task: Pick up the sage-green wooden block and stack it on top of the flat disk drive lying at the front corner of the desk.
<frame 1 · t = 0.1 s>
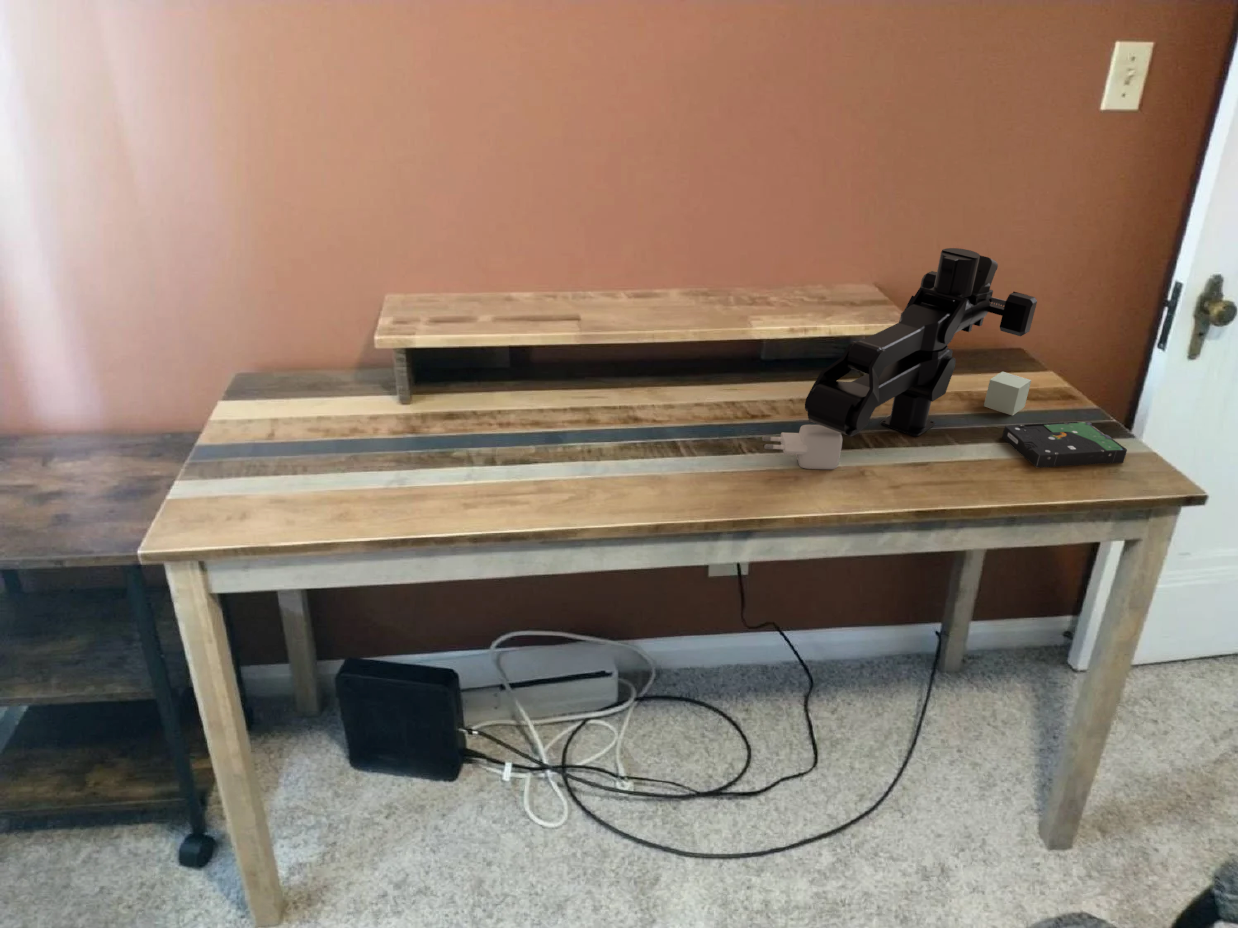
hand: (996, 292, 165), 17 cm above the table, tool horizontal, fingers open, 9 cm apart
power adapter: (798, 465, 143), on the table
disk drive: (1060, 453, 151), on the table
sage block: (1003, 407, 164), on the table
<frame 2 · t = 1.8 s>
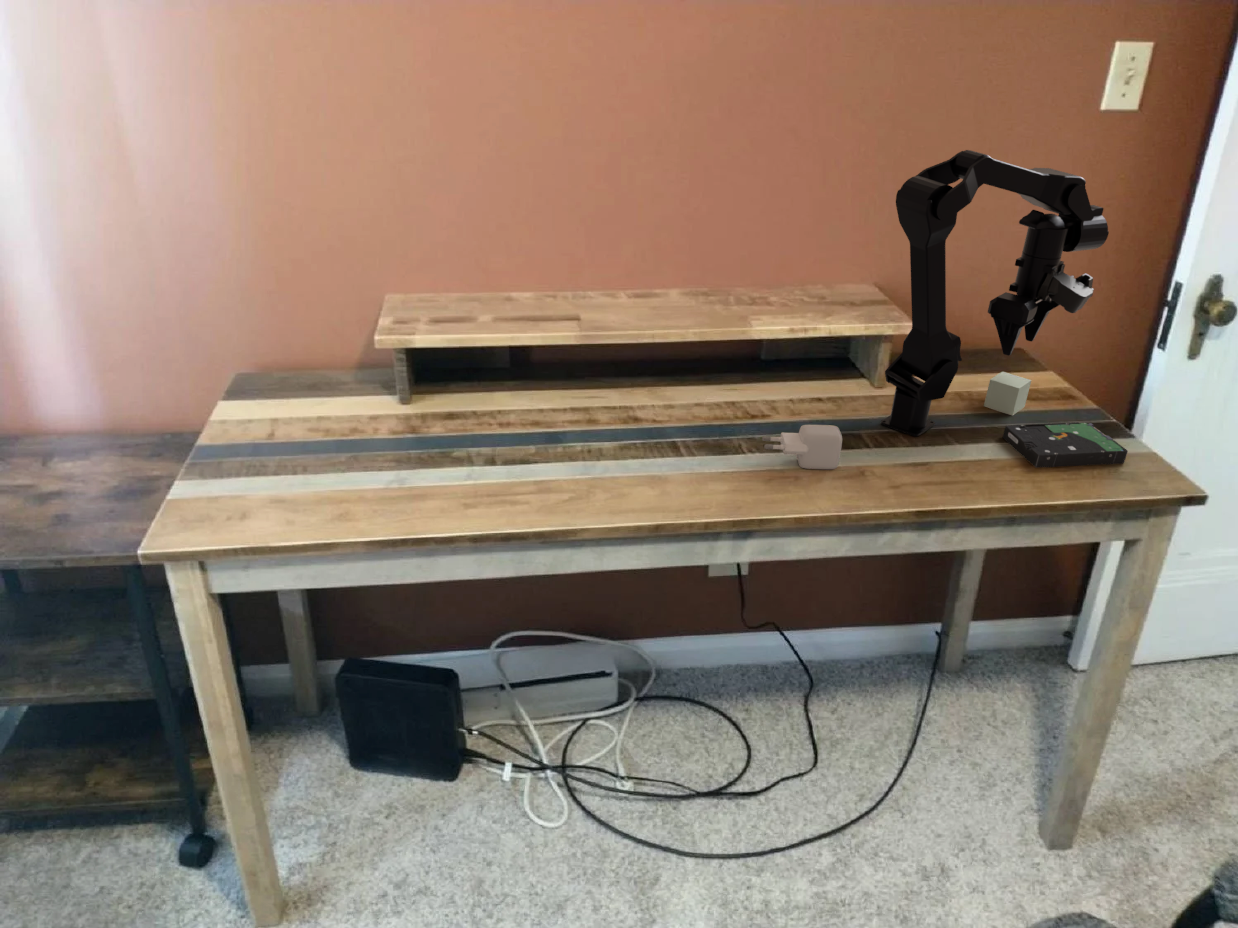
hand: (1018, 347, 159), 11 cm above the table, tool pointing down, fingers open, 9 cm apart
nothing on the table moved.
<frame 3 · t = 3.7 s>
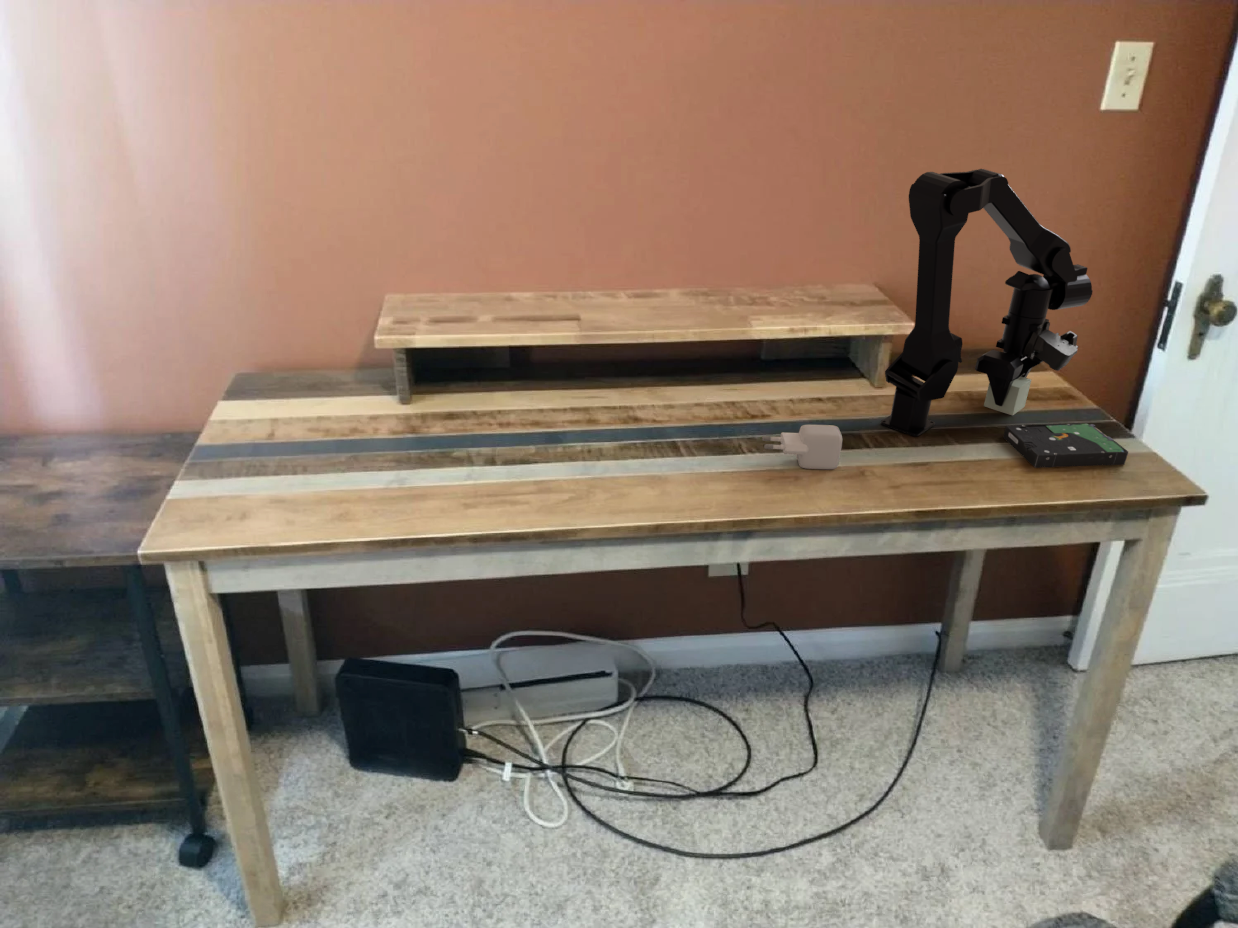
hand: (1005, 400, 164), 1 cm above the table, tool pointing down, fingers closed on sage block, 5 cm apart
sage block: (1004, 406, 164), on the table, touching gripper
everything else where it was.
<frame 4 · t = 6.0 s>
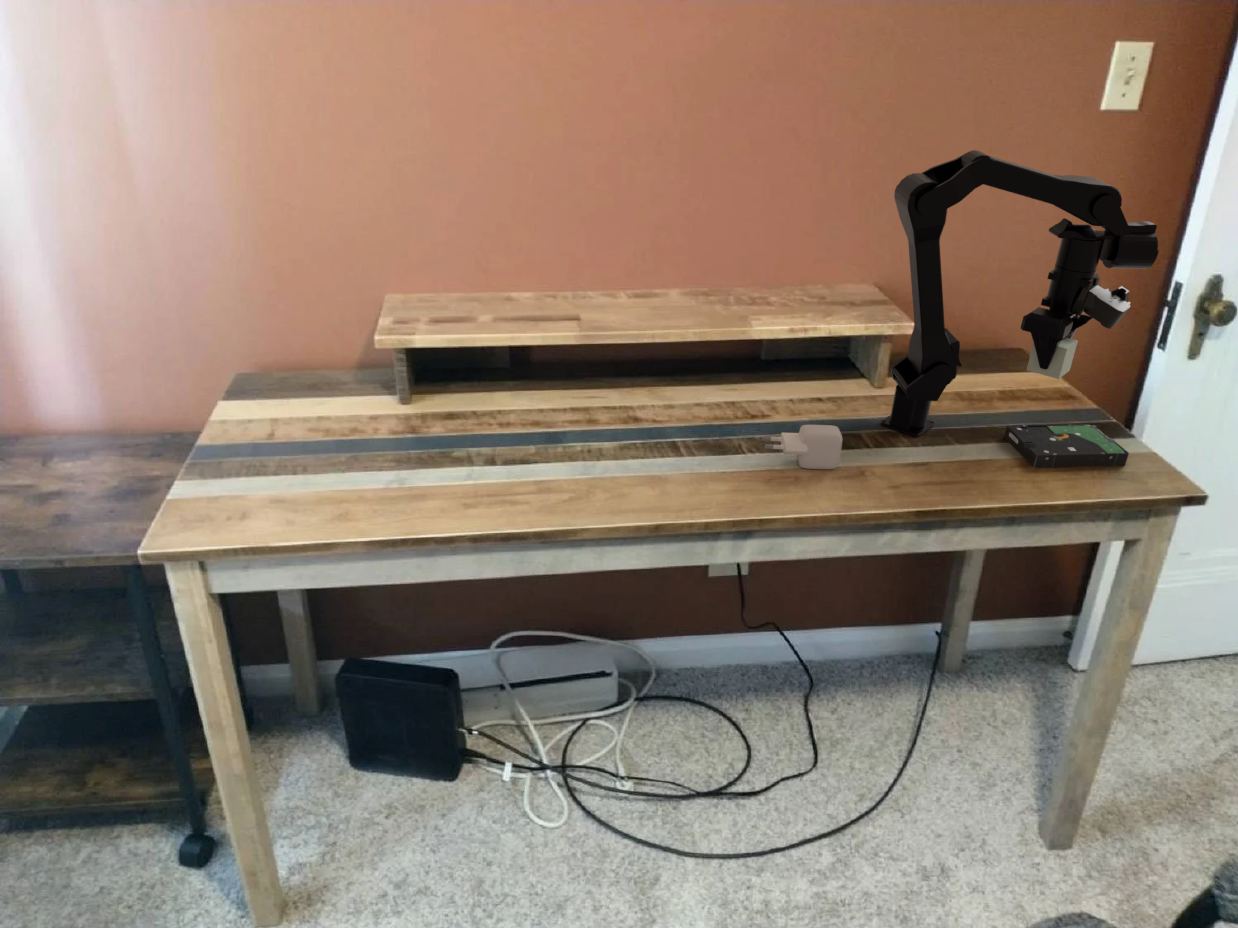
hand: (1049, 364, 152), 11 cm above the table, tool pointing down, fingers closed on sage block, 5 cm apart
sage block: (1048, 370, 152), point 10 cm above the table, touching gripper
everything else where it was.
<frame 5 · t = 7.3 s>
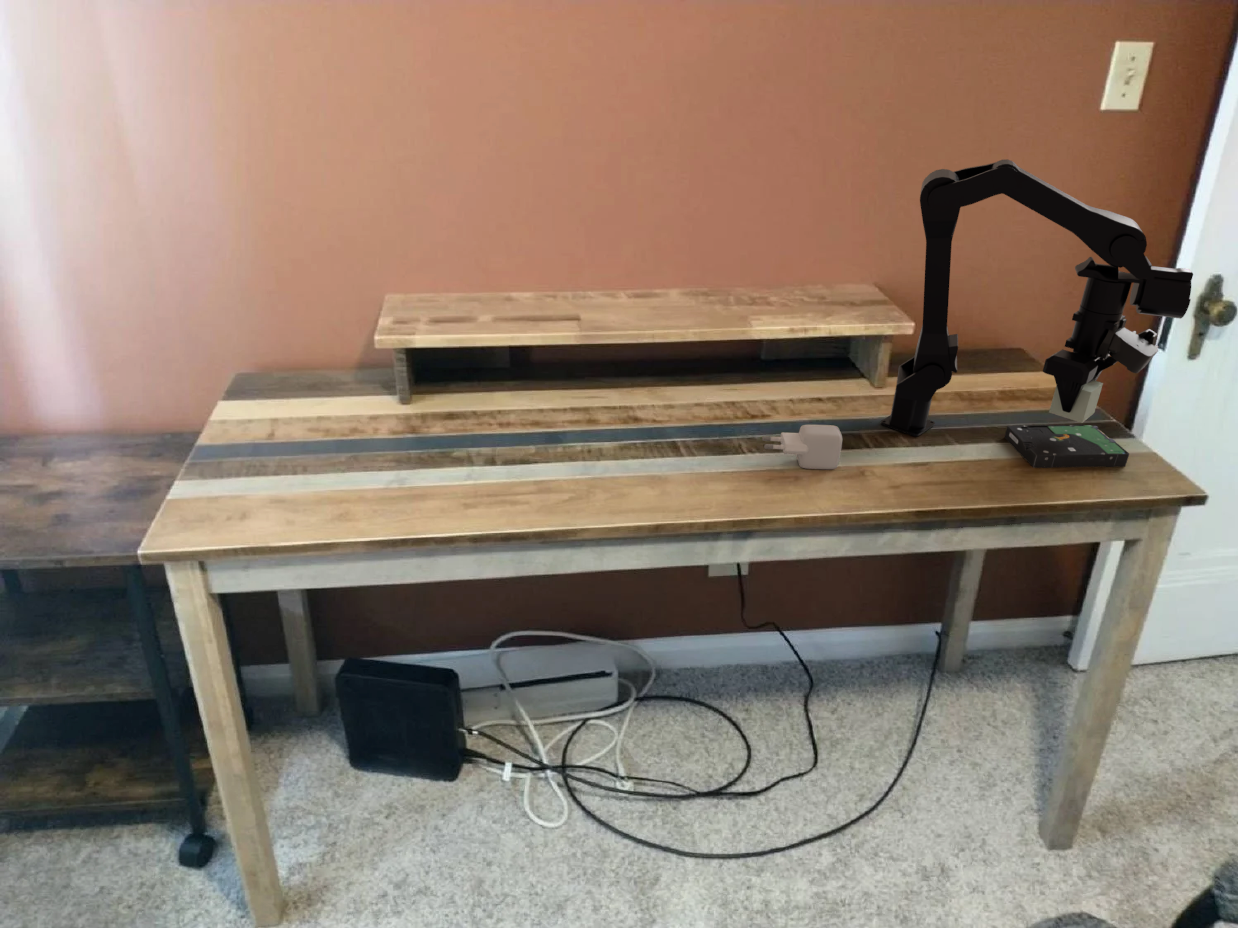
hand: (1073, 406, 147), 7 cm above the table, tool pointing down, fingers closed on sage block, 5 cm apart
sage block: (1071, 412, 148), point 6 cm above the table, touching gripper
everything else where it was.
when the fingers open (5 cm above the table, at t = 8.4 s): sage block drops 2 cm, resting on disk drive.
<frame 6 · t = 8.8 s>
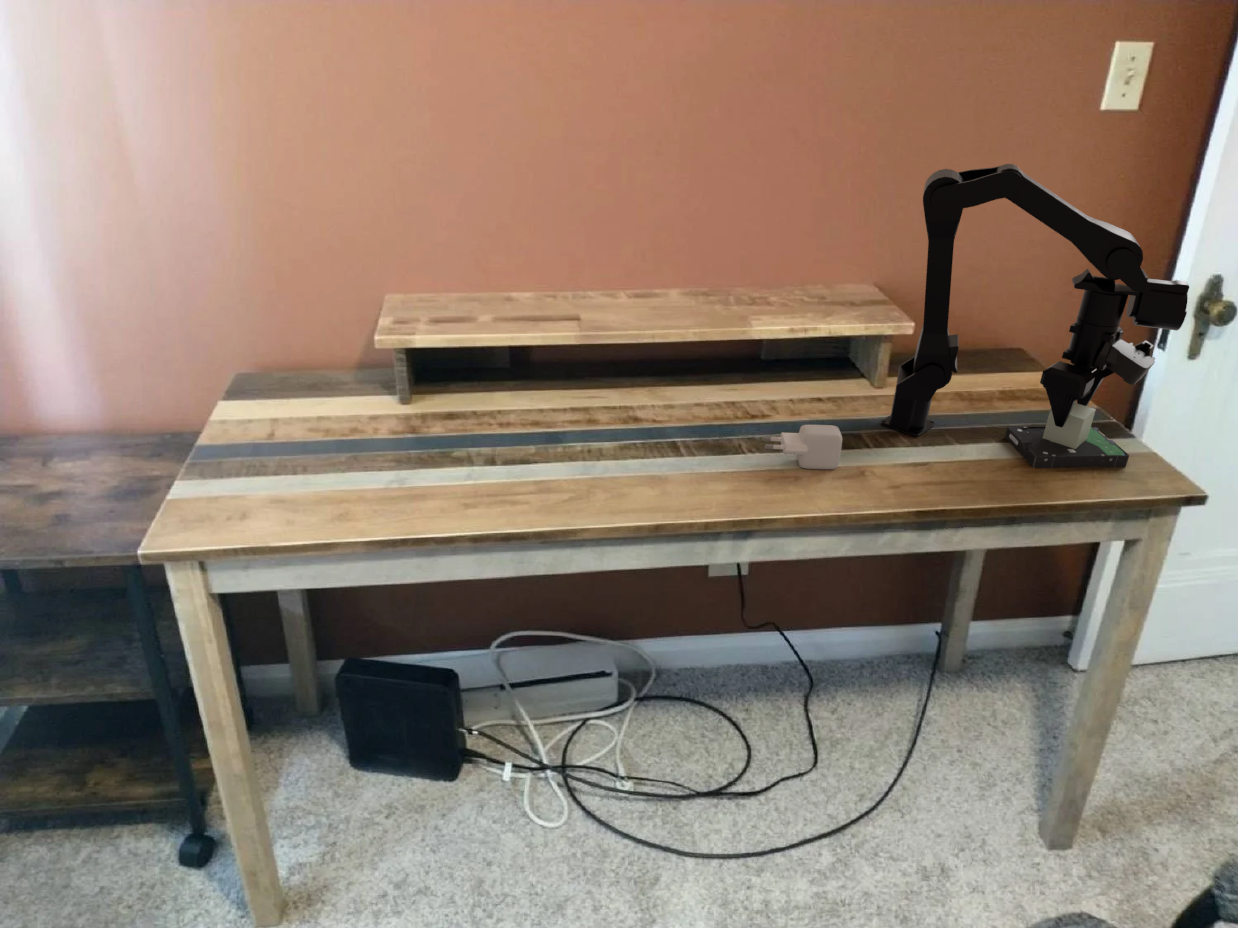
hand: (1070, 417, 148), 5 cm above the table, tool pointing down, fingers open, 9 cm apart
disk drive: (1062, 456, 150), on the table, touching sage block
sage block: (1064, 438, 150), point 2 cm above the table, touching disk drive
everything else where it was.
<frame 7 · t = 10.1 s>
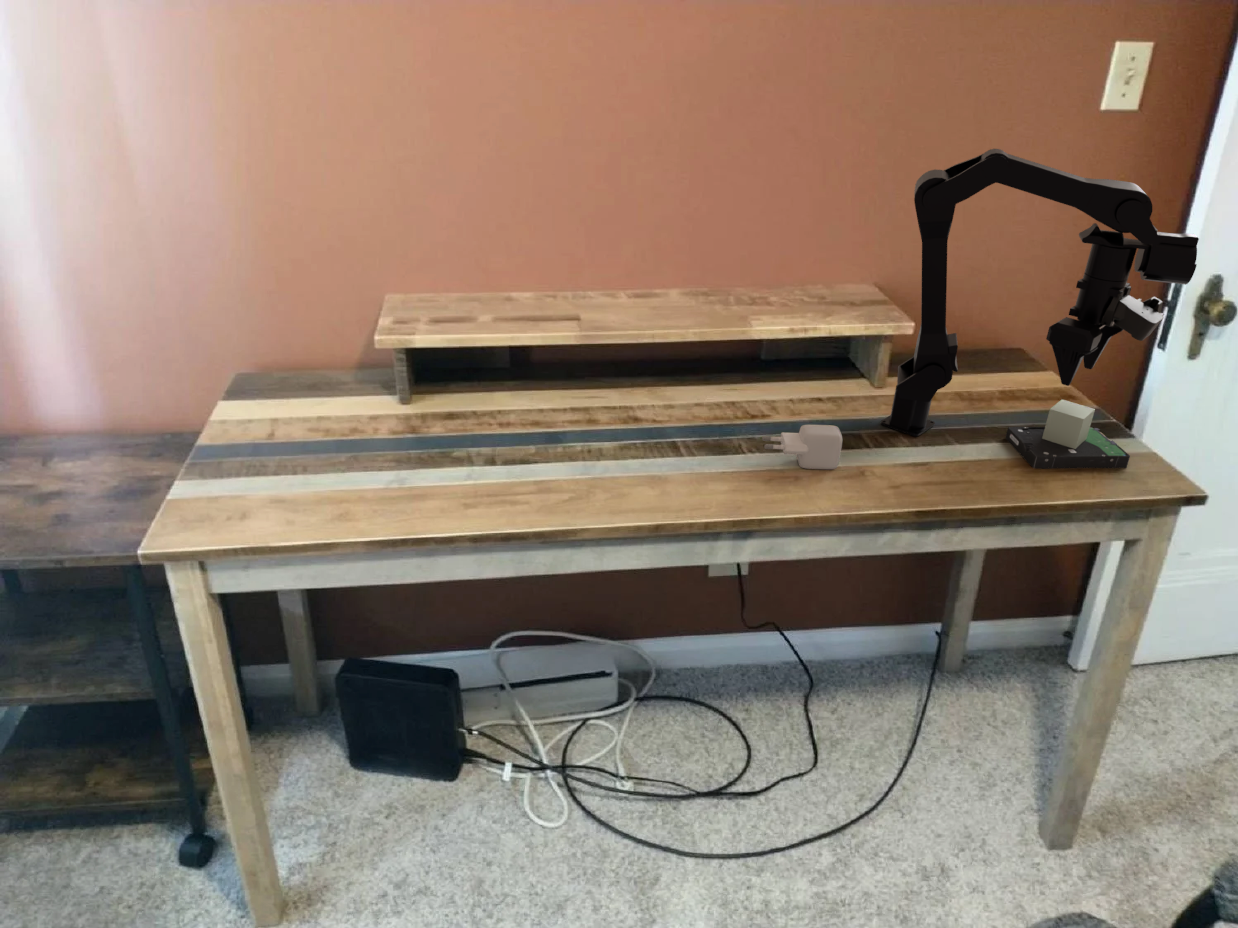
hand: (1077, 376, 146), 12 cm above the table, tool pointing down, fingers open, 9 cm apart
disk drive: (1063, 457, 150), on the table
sage block: (1064, 438, 149), point 2 cm above the table
everything else where it was.
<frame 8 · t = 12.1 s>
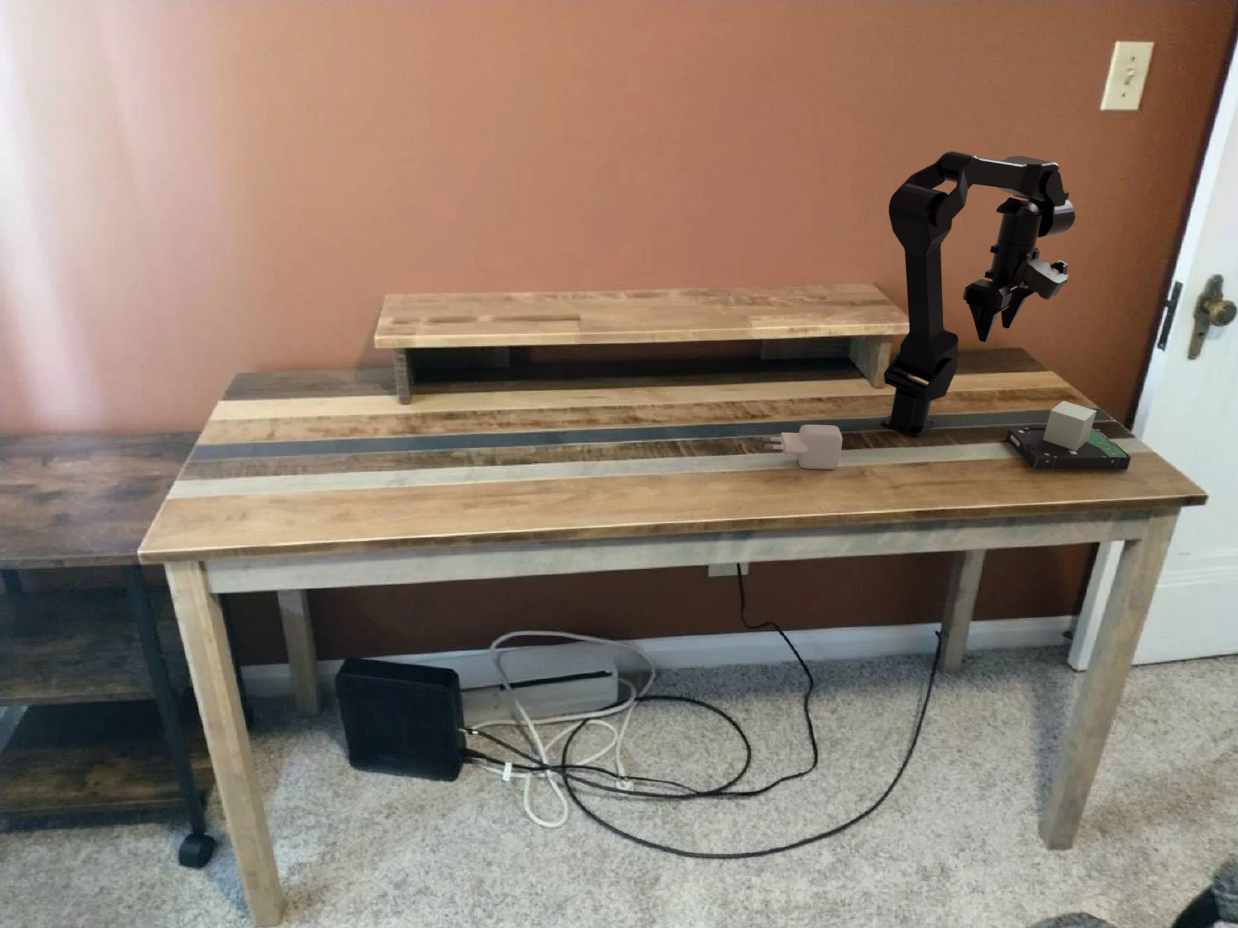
hand: (994, 334, 160), 12 cm above the table, tool pointing down, fingers open, 9 cm apart
disk drive: (1063, 458, 150), on the table, touching sage block
sage block: (1065, 440, 149), point 2 cm above the table, touching disk drive
everything else where it was.
at the end: sage block inside the target area on the disk drive (0.8 cm from its centre), point 2.8 cm above the disk drive's base; sage block touching disk drive; sage block tilted 0° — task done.
